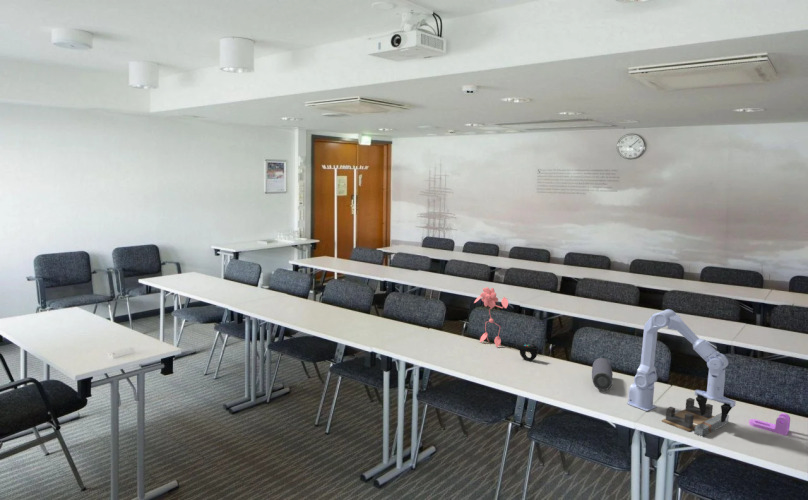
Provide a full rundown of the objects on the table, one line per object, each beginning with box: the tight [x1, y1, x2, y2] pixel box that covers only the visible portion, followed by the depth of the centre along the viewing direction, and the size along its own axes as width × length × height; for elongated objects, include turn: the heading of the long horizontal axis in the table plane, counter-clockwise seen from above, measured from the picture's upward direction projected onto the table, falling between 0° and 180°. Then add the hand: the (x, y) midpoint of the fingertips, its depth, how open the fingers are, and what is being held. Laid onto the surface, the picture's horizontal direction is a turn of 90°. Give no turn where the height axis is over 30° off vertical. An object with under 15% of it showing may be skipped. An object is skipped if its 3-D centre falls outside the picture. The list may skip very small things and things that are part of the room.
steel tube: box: [694, 412, 730, 437], centre depth 217 cm, size 3×22×3 cm, turn 126°
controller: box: [515, 342, 539, 362], centre depth 295 cm, size 4×12×10 cm, turn 53°
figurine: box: [473, 286, 509, 348], centre depth 317 cm, size 15×26×35 cm, turn 40°
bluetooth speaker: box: [591, 357, 614, 391], centre depth 261 cm, size 23×9×10 cm, turn 161°
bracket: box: [748, 412, 791, 436], centre depth 217 cm, size 13×6×7 cm, turn 46°
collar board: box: [661, 397, 715, 433], centre depth 224 cm, size 11×22×6 cm, turn 126°
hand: (712, 418), depth 216 cm, fingers open, 7 cm apart
